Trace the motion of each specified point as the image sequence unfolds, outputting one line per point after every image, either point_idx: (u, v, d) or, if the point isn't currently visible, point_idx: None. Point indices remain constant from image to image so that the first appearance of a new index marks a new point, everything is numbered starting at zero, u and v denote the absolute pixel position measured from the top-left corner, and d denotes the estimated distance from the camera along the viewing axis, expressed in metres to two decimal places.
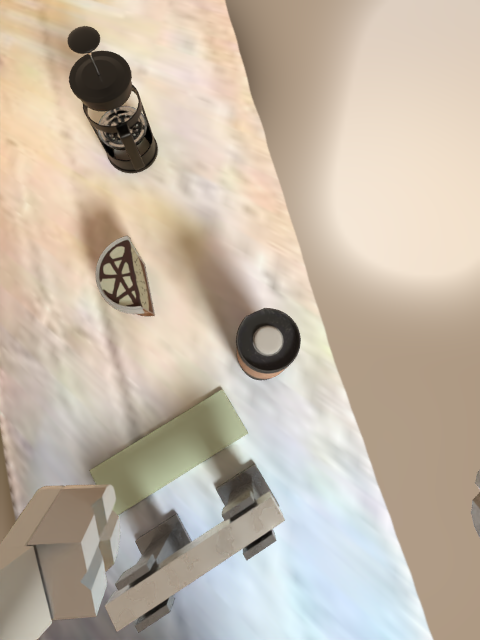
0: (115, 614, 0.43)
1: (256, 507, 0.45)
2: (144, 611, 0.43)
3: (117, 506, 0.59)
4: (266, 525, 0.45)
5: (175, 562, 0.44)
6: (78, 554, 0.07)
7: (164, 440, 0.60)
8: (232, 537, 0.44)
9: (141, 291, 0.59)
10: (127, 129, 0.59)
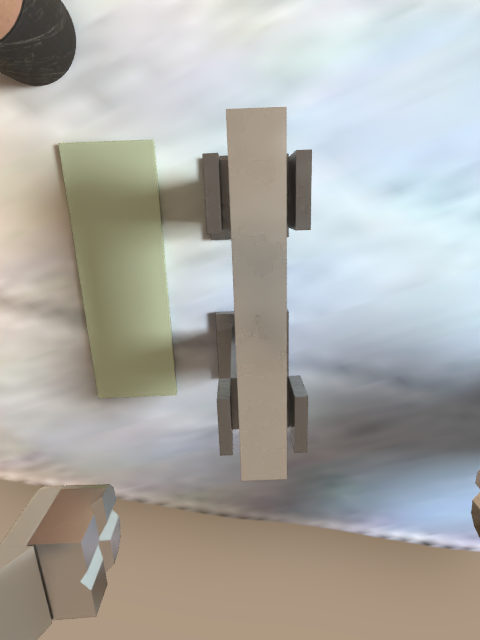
0: (261, 472, 0.25)
1: (230, 154, 0.20)
2: (283, 431, 0.24)
3: (163, 383, 0.39)
4: (273, 153, 0.20)
5: (241, 354, 0.23)
6: (78, 554, 0.07)
7: (102, 279, 0.36)
8: (257, 233, 0.21)
9: None
10: None
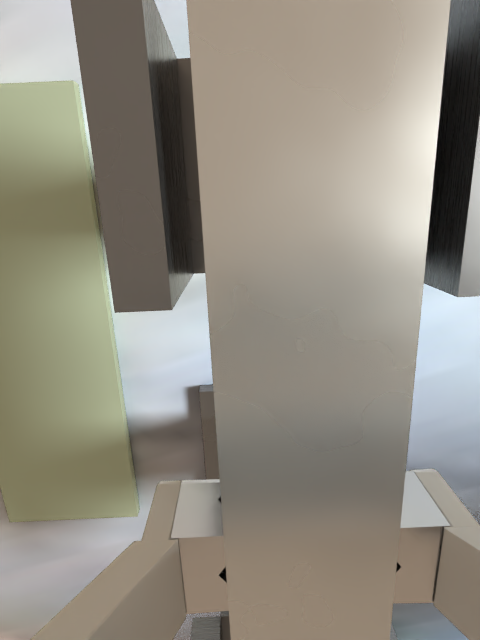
0: None
1: None
2: None
3: (116, 499, 0.24)
4: None
5: None
6: (219, 548, 0.07)
7: (0, 335, 0.21)
8: (311, 312, 0.05)
9: None
10: None
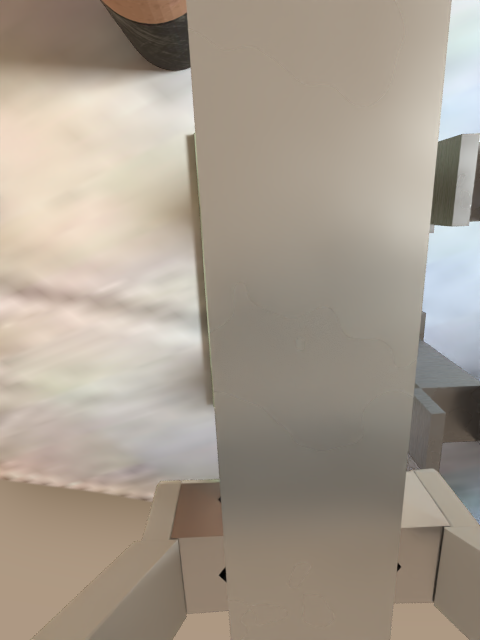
0: None
1: None
2: None
3: None
4: None
5: None
6: (219, 548, 0.07)
7: None
8: (310, 309, 0.05)
9: None
10: None
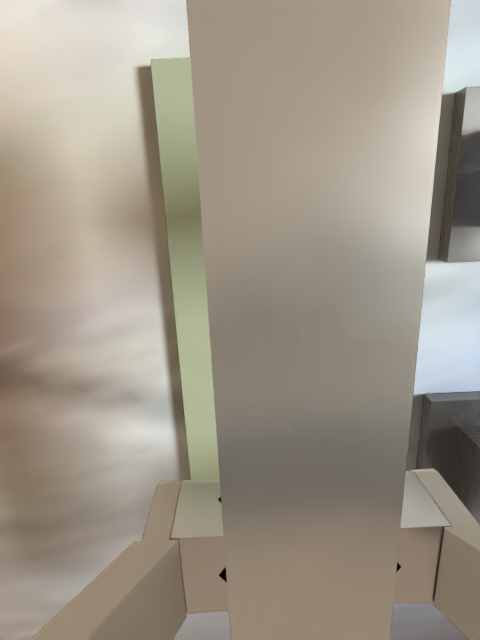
0: None
1: None
2: None
3: None
4: None
5: None
6: (219, 548, 0.07)
7: None
8: (310, 307, 0.05)
9: None
10: None
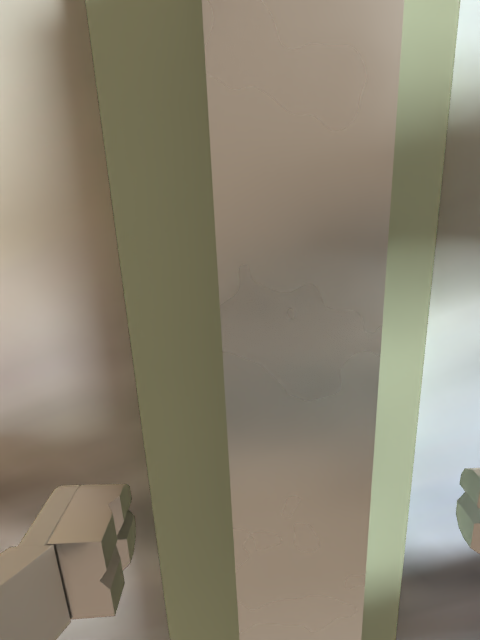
0: None
1: (210, 27, 0.06)
2: None
3: None
4: (359, 21, 0.06)
5: (249, 583, 0.09)
6: (98, 553, 0.07)
7: (216, 428, 0.11)
8: (298, 286, 0.07)
9: None
10: None
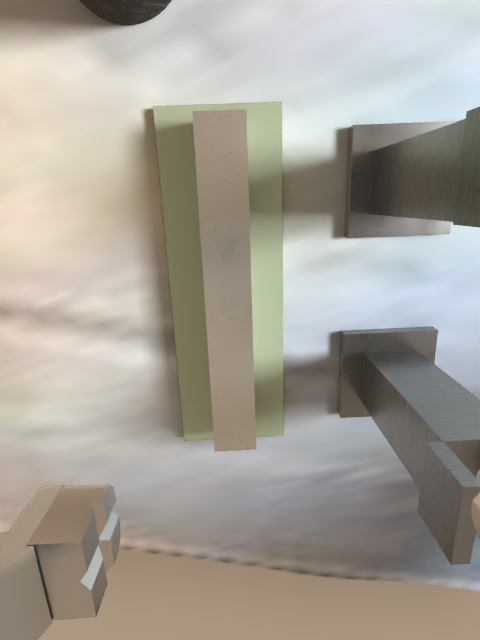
0: (233, 442, 0.28)
1: (196, 152, 0.22)
2: (252, 405, 0.27)
3: (269, 421, 0.31)
4: (236, 151, 0.22)
5: (211, 334, 0.25)
6: (78, 554, 0.07)
7: (200, 290, 0.27)
8: (223, 223, 0.23)
9: None
10: None
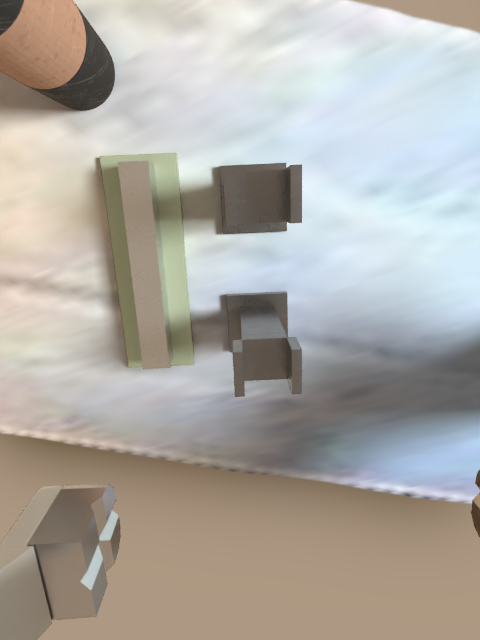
0: (154, 363, 0.44)
1: (121, 184, 0.38)
2: (164, 338, 0.43)
3: (183, 354, 0.47)
4: (143, 183, 0.38)
5: (136, 292, 0.41)
6: (78, 554, 0.07)
7: None
8: (139, 225, 0.39)
9: None
10: None
